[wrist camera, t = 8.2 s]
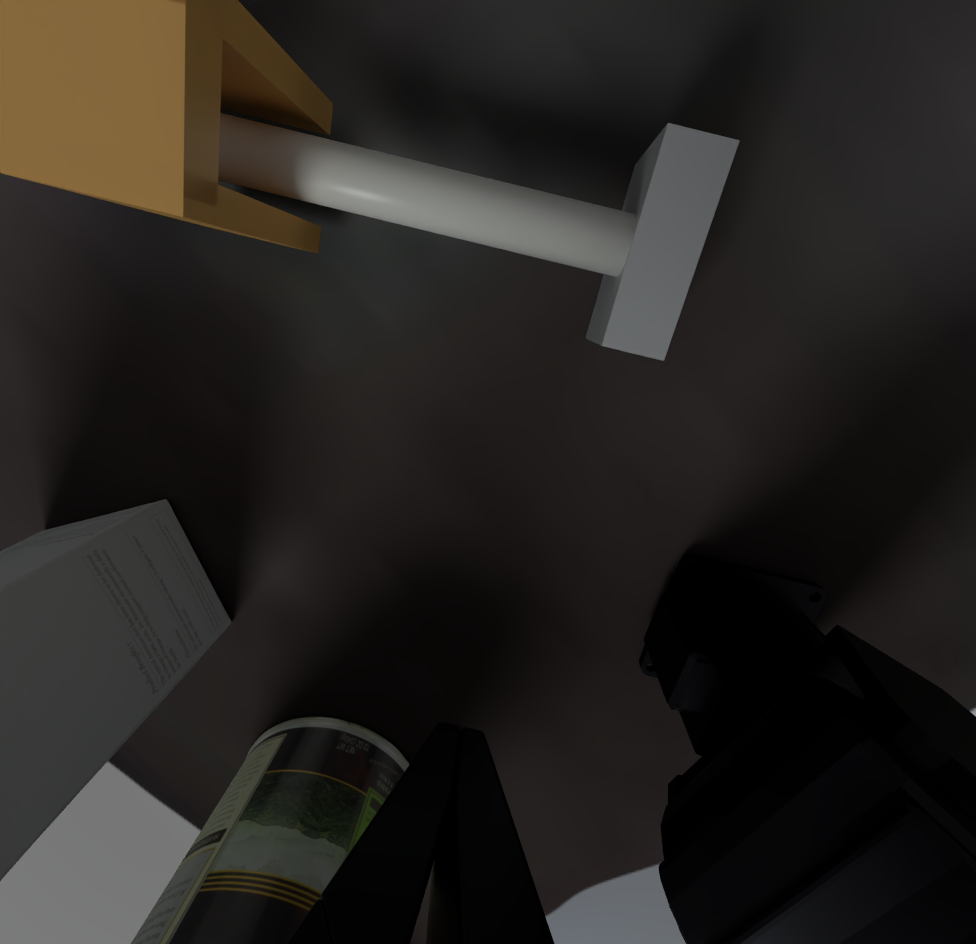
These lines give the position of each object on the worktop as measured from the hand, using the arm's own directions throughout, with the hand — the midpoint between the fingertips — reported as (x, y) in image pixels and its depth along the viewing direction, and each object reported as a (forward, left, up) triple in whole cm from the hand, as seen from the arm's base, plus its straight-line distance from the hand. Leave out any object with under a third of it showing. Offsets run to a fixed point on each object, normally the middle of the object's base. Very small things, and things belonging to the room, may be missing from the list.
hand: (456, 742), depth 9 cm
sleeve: (+10, -10, -12) cm, 19 cm away
